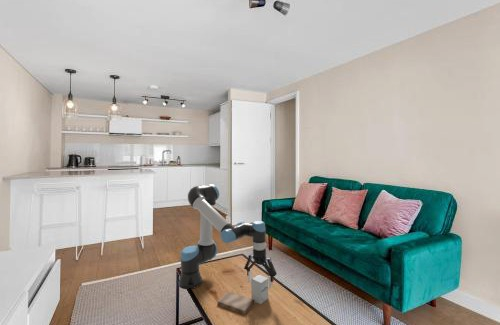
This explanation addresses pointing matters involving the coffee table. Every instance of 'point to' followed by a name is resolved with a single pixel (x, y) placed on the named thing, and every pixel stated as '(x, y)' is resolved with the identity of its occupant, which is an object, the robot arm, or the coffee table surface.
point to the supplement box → (259, 289)
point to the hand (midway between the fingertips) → (260, 284)
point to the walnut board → (236, 302)
